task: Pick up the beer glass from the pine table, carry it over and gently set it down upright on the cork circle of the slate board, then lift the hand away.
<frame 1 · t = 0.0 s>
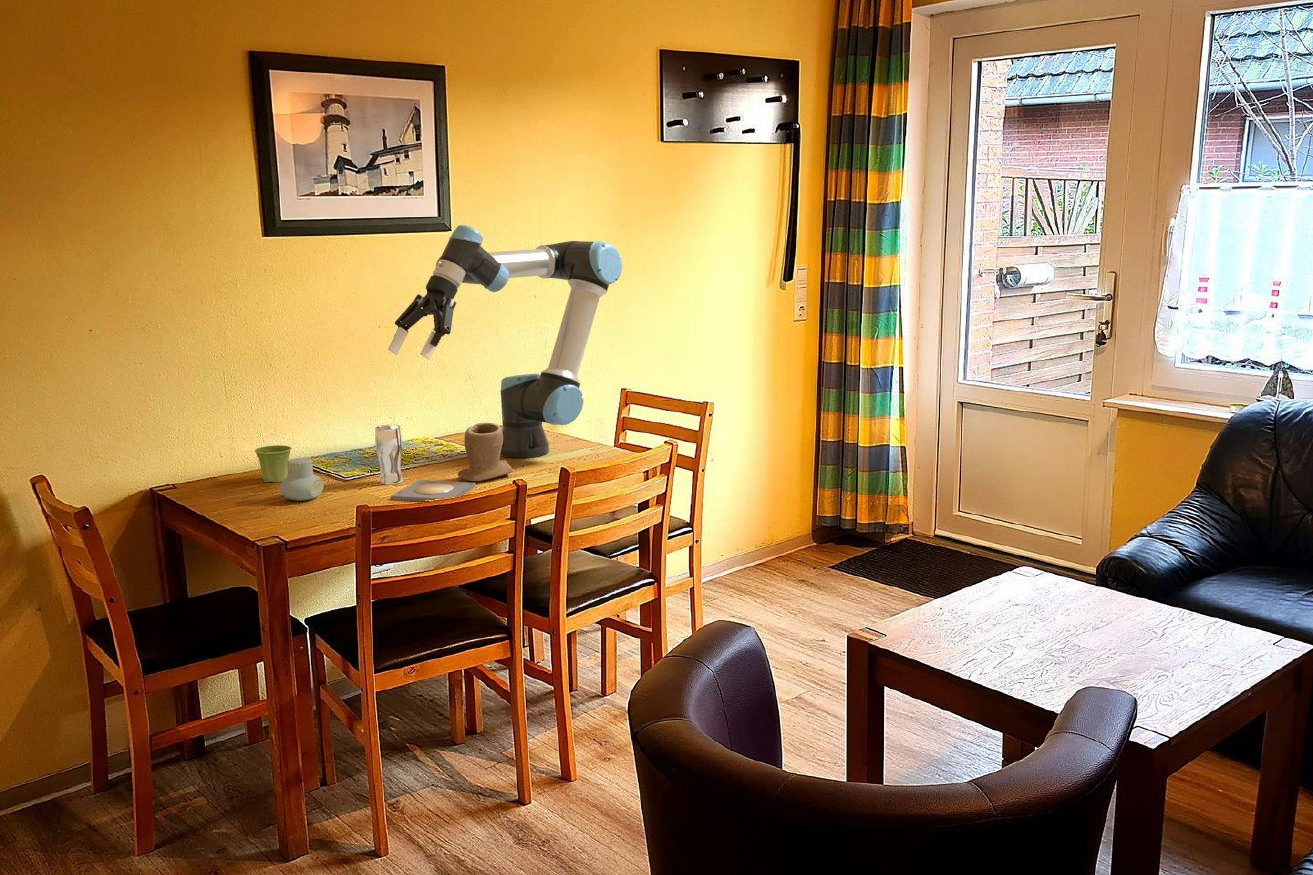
hand: (408, 354, 281), 36 cm above the table, tool tilted 35°, fingers open, 13 cm apart
beer glass: (391, 482, 301), on the table
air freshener: (302, 499, 286), on the table
plant pot: (275, 480, 304), on the table
slate board: (434, 492, 289), on the table
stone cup: (488, 478, 304), on the table
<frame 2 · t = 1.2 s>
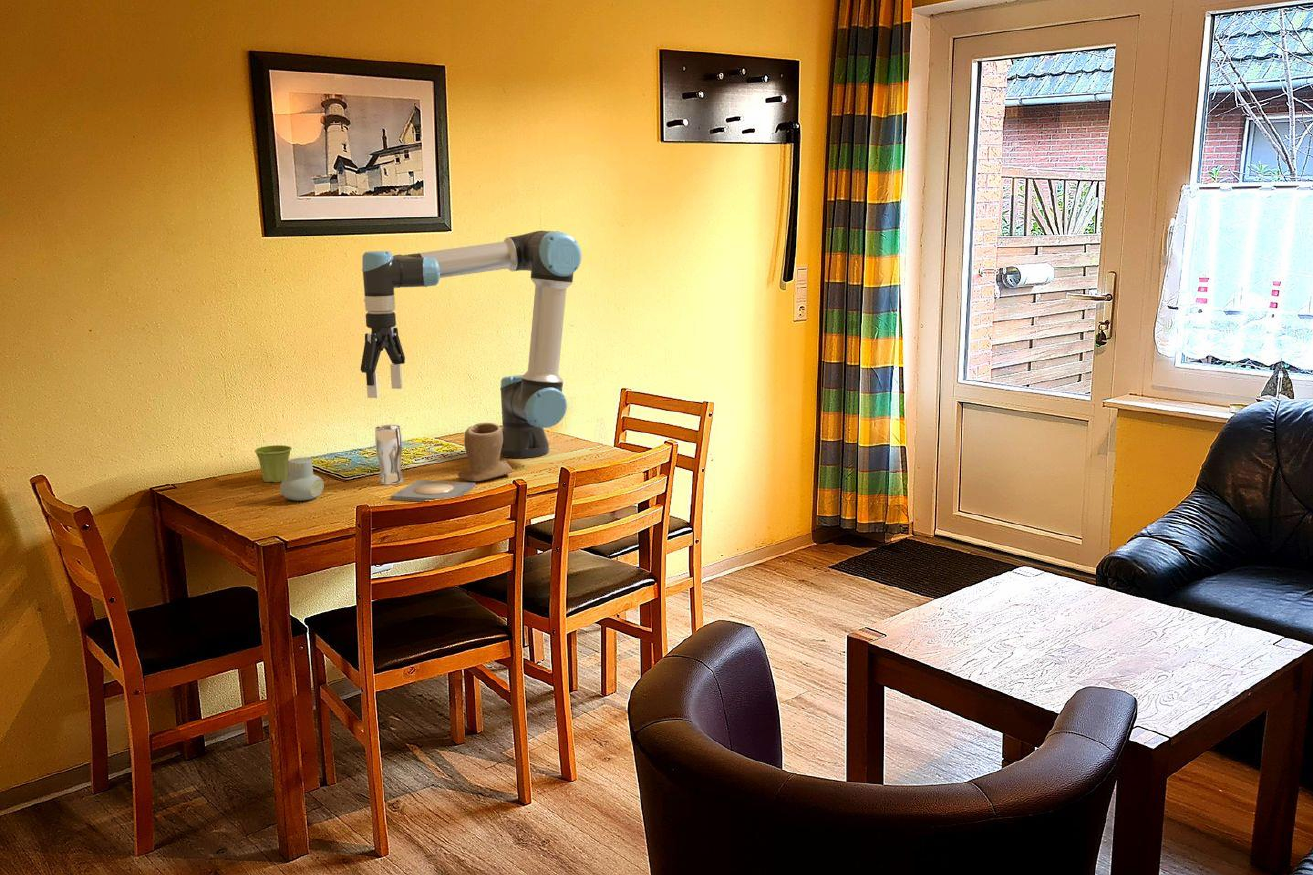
hand: (385, 393, 295), 24 cm above the table, tool pointing down, fingers open, 13 cm apart
nothing on the table moved.
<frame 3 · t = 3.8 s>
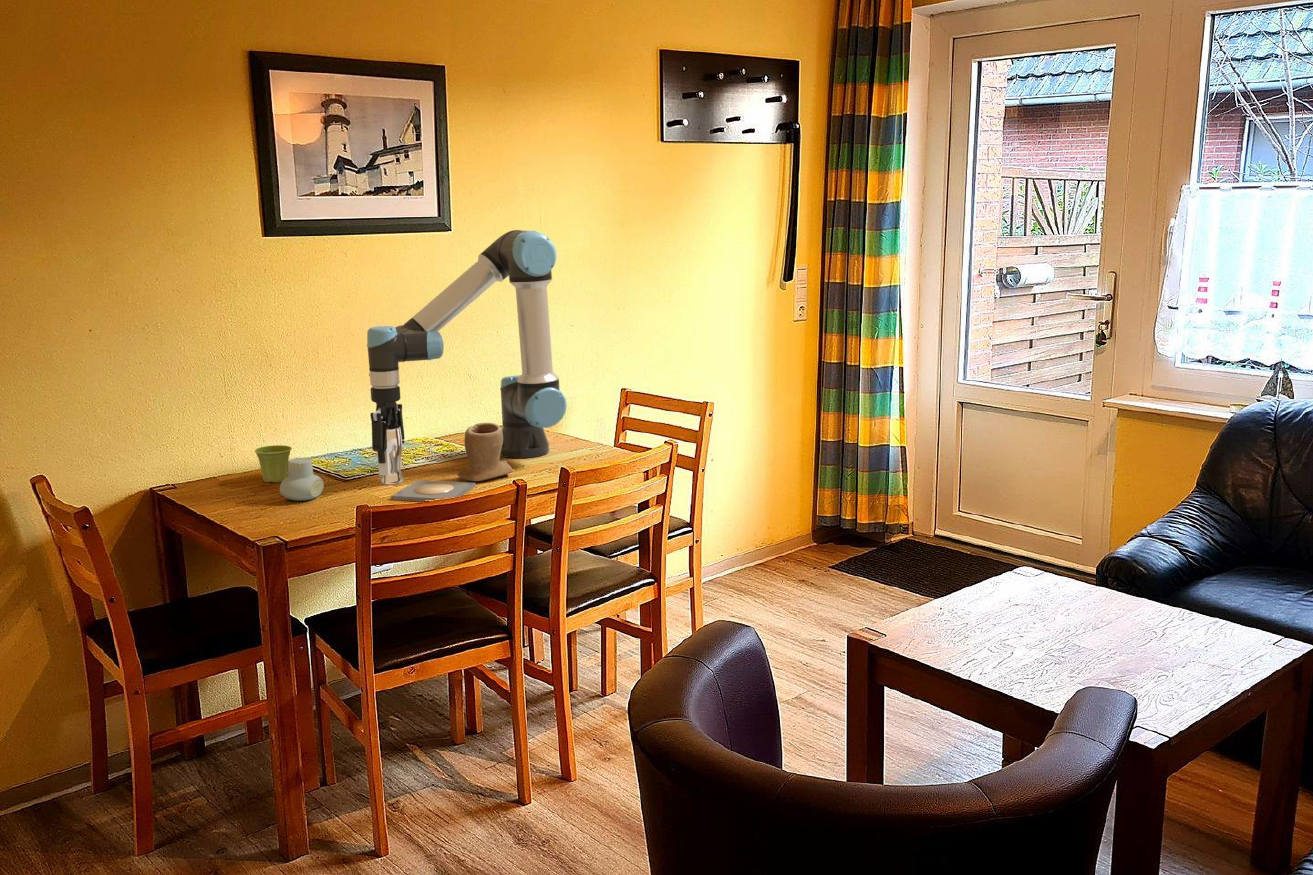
hand: (390, 471, 300), 3 cm above the table, tool pointing down, fingers closed on beer glass, 6 cm apart
beer glass: (391, 482, 301), on the table, touching gripper
everything else where it was.
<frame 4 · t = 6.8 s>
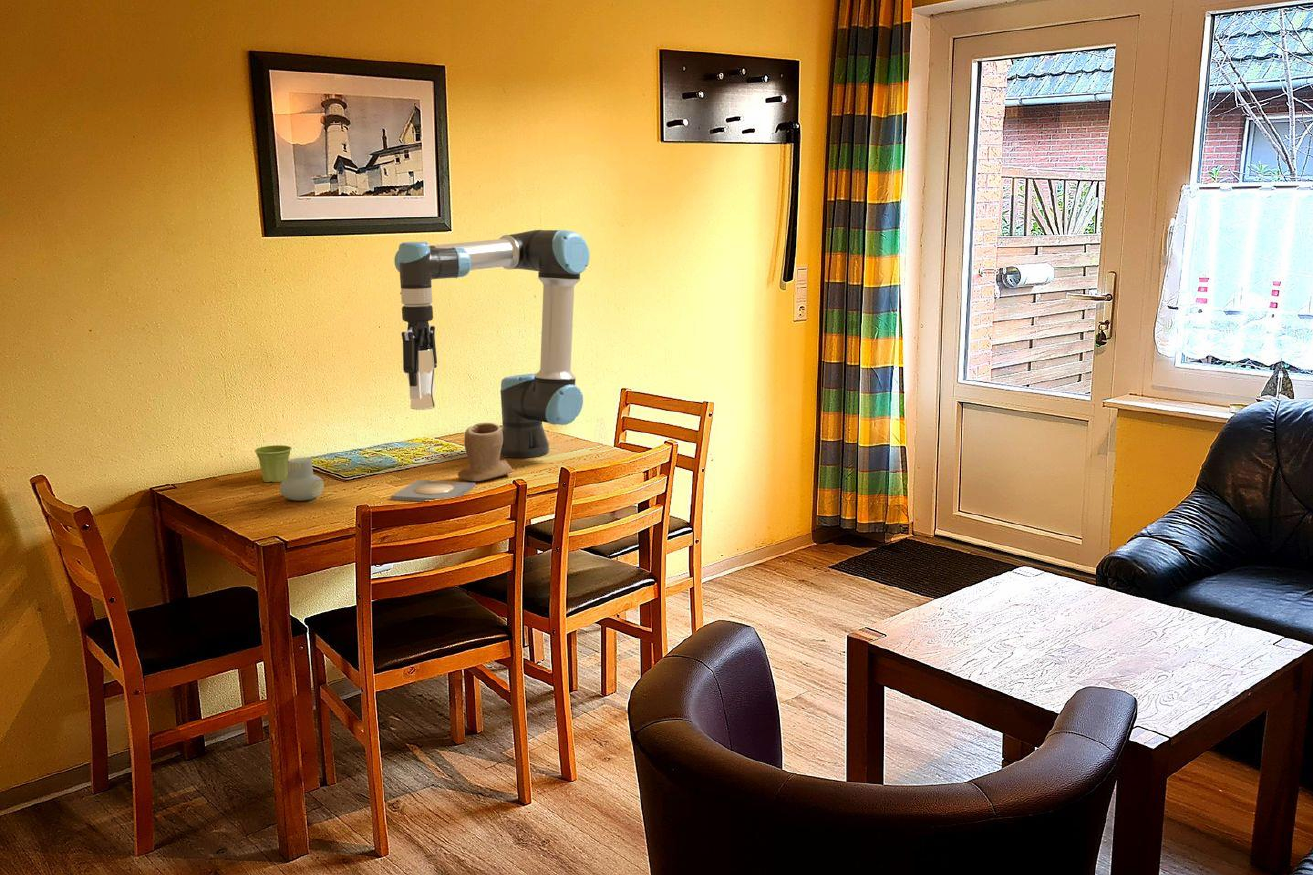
hand: (422, 395, 285), 25 cm above the table, tool pointing down, fingers closed on beer glass, 6 cm apart
beer glass: (422, 408, 286), point 22 cm above the table, touching gripper
everything else where it was.
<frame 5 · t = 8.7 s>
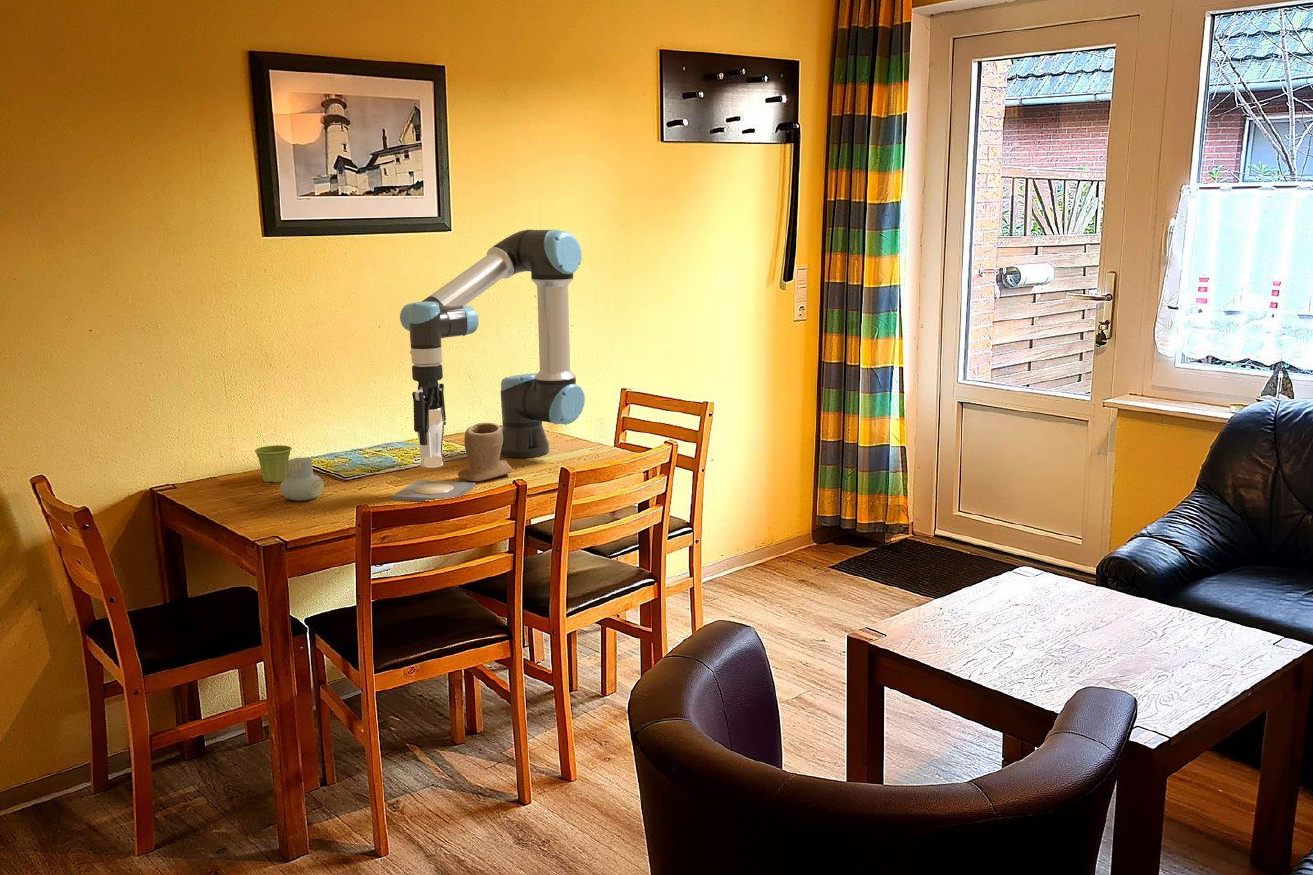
hand: (431, 453, 287), 10 cm above the table, tool pointing down, fingers closed on beer glass, 6 cm apart
beer glass: (432, 465, 288), point 7 cm above the table, touching gripper
everything else where it was.
when the fingers open (5 cm above the table, at t = 10.0 s): beer glass drops 1 cm, resting on slate board.
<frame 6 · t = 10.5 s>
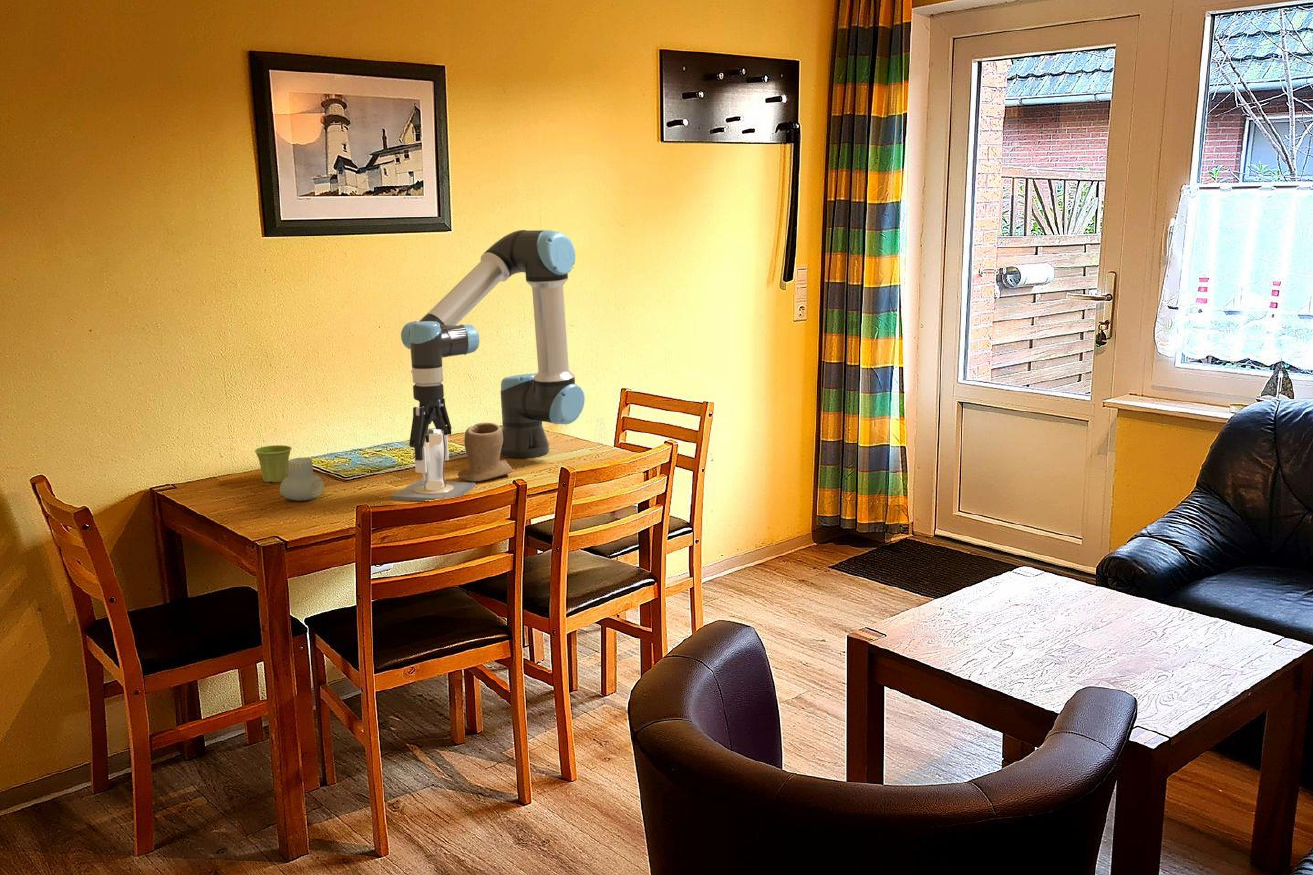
hand: (432, 465, 288), 7 cm above the table, tool pointing down, fingers open, 13 cm apart
beer glass: (434, 488, 289), point 1 cm above the table, touching slate board
everything else where it was.
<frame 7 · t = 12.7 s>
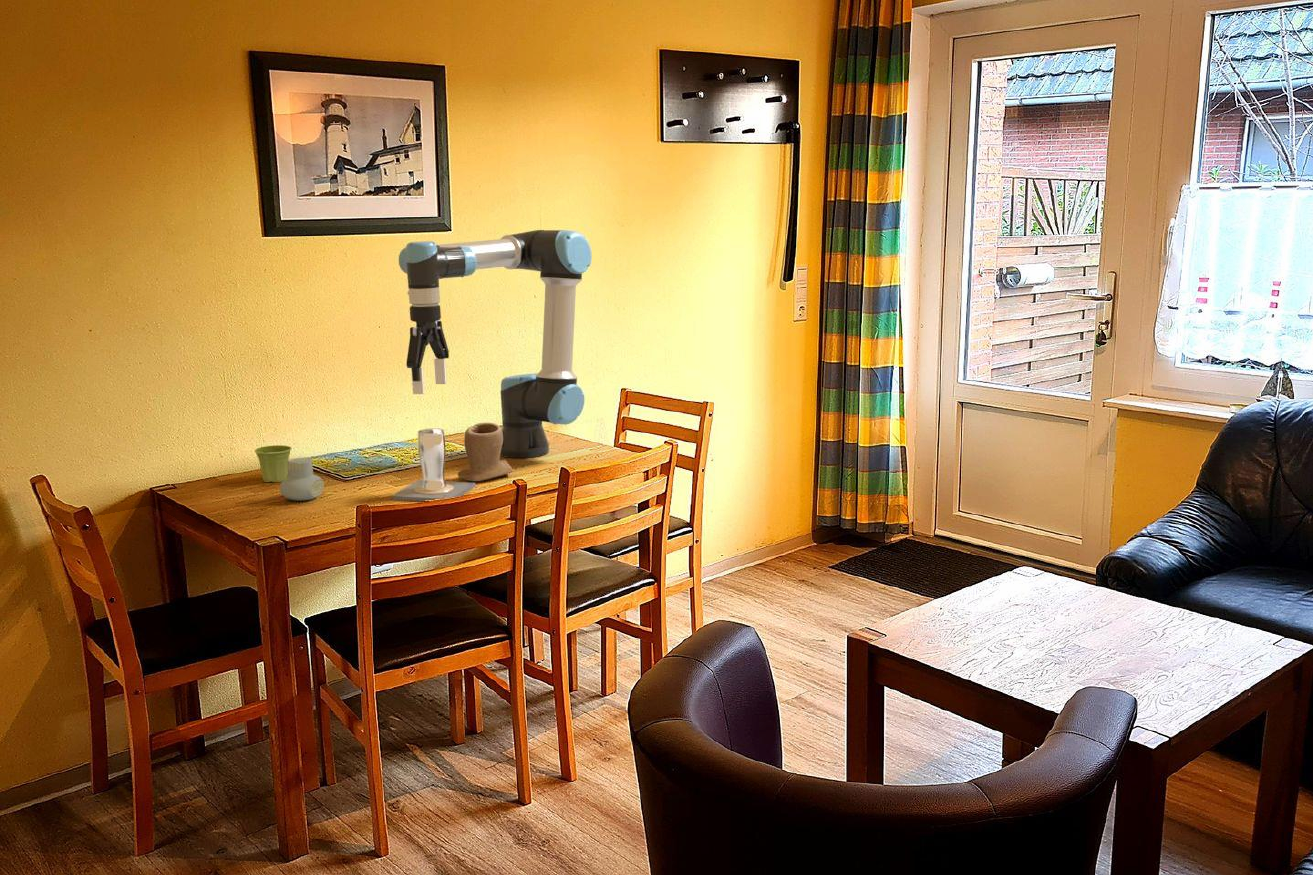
hand: (430, 388, 285), 27 cm above the table, tool pointing down, fingers open, 13 cm apart
nothing on the table moved.
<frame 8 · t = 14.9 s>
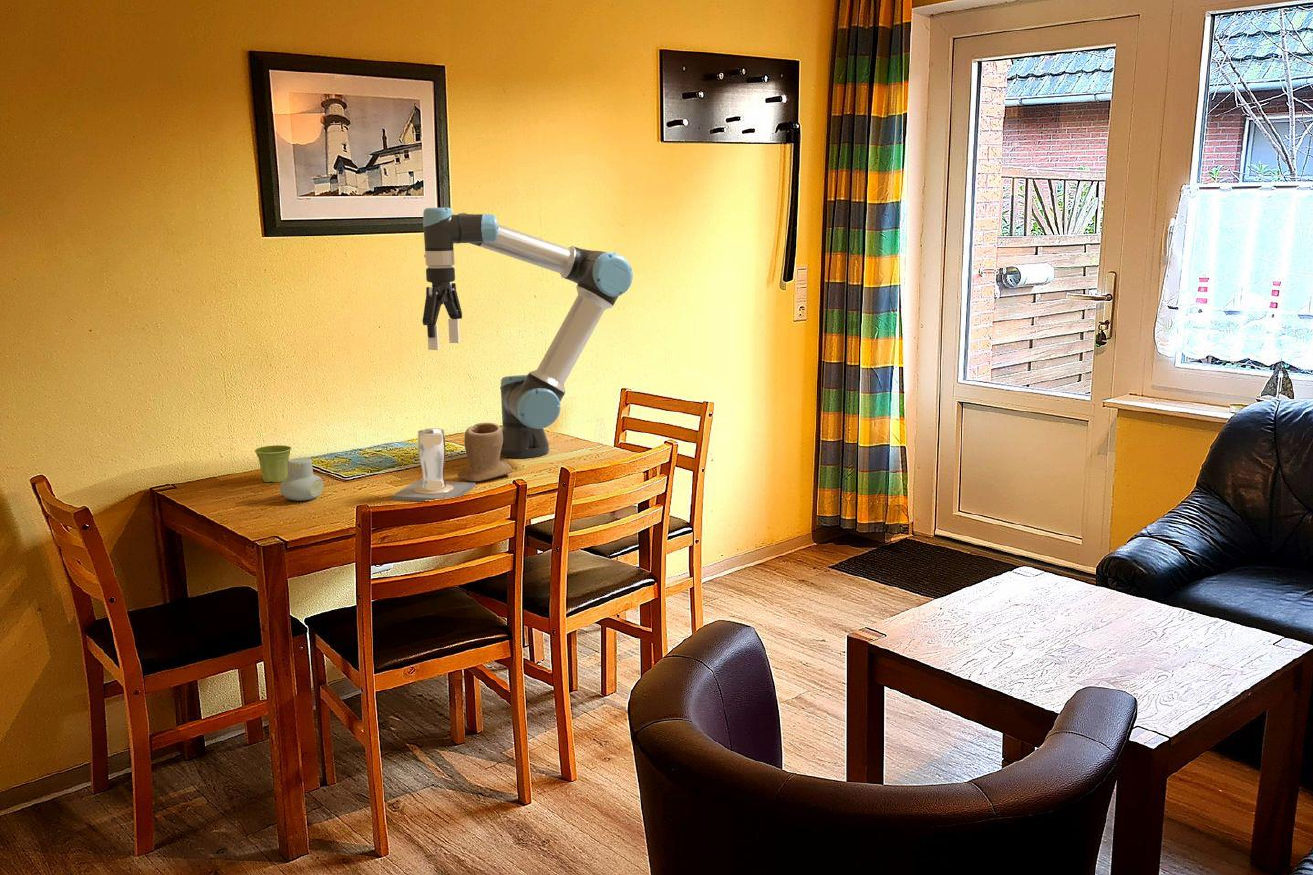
hand: (444, 346, 304), 35 cm above the table, tool pointing down, fingers open, 13 cm apart
nothing on the table moved.
at the end: beer glass 0.2 cm from the slate board (horizontally); beer glass tilted 0°; beer glass touching slate board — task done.
